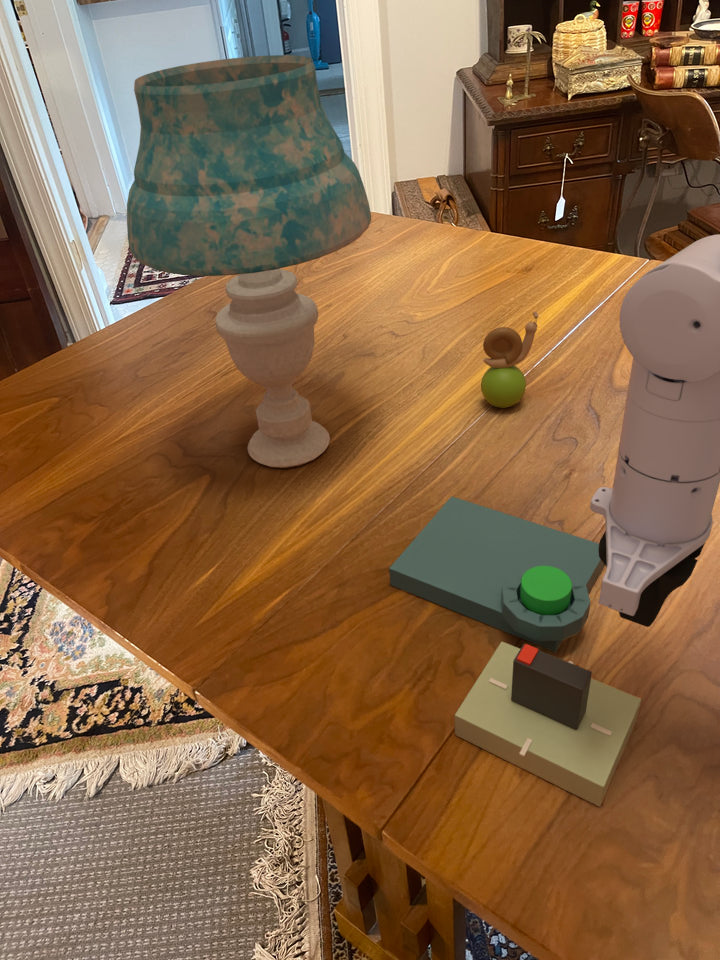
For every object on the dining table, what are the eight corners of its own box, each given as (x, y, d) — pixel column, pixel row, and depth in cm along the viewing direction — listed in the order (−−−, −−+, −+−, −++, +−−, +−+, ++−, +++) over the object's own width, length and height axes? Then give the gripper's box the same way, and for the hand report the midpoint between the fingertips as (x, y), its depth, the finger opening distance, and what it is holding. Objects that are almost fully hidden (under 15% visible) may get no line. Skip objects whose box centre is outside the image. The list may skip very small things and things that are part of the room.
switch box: (621, 569, 67) (627, 536, 65) (566, 672, 58) (570, 638, 56) (451, 512, 76) (451, 481, 73) (381, 595, 67) (378, 563, 65)
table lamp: (227, 536, 75) (117, 109, 52) (167, 432, 93) (65, 78, 69) (425, 462, 83) (409, 59, 59) (336, 378, 101) (296, 42, 77)
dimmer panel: (639, 713, 55) (644, 691, 53) (596, 815, 49) (601, 793, 47) (503, 656, 60) (504, 634, 59) (450, 741, 54) (450, 719, 53)
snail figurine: (536, 414, 89) (542, 322, 82) (483, 417, 90) (484, 326, 82) (529, 391, 94) (534, 303, 86) (478, 394, 94) (479, 306, 87)
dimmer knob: (586, 712, 52) (592, 669, 50) (576, 730, 51) (583, 688, 49) (520, 683, 55) (523, 640, 52) (510, 700, 54) (513, 658, 51)
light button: (577, 590, 61) (579, 575, 59) (559, 622, 58) (560, 607, 57) (531, 574, 62) (533, 559, 61) (512, 604, 60) (512, 589, 59)
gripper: (639, 382, 49) (614, 535, 57) (556, 502, 40) (539, 665, 48) (755, 406, 45) (710, 566, 53) (693, 544, 36) (650, 712, 44)
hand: (637, 615), depth 50 cm, fingers closed
